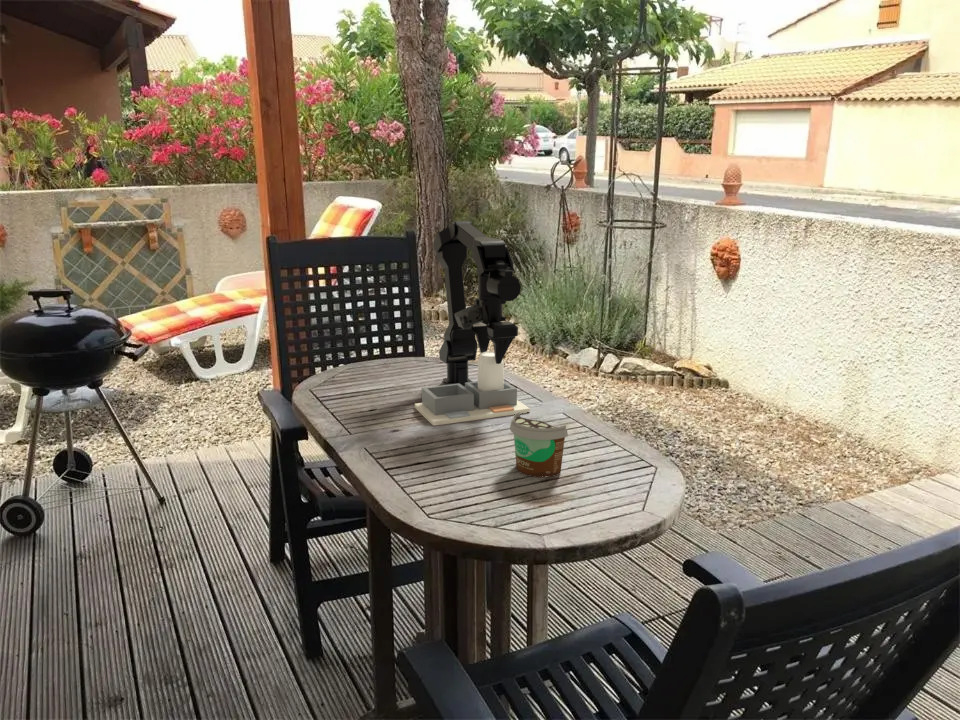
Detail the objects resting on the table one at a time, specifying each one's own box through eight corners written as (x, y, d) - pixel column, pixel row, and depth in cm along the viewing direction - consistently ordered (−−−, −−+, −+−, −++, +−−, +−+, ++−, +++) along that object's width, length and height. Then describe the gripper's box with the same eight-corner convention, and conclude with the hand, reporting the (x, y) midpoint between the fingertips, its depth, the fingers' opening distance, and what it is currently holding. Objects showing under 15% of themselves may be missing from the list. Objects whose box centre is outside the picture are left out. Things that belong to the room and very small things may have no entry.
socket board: (414, 407, 186) (414, 387, 184) (505, 396, 194) (506, 377, 193) (433, 425, 173) (432, 404, 172) (529, 412, 182) (530, 392, 180)
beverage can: (505, 405, 184) (505, 356, 181) (480, 406, 183) (479, 357, 180) (501, 397, 190) (501, 350, 187) (476, 398, 189) (475, 351, 186)
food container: (496, 467, 150) (496, 419, 147) (517, 459, 154) (517, 411, 151) (546, 485, 141) (547, 434, 139) (566, 475, 146) (568, 425, 143)
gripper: (444, 290, 186) (445, 353, 189) (473, 303, 169) (473, 372, 173) (487, 287, 190) (487, 349, 193) (519, 299, 173) (518, 367, 177)
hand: (490, 359), depth 184 cm, fingers open, 9 cm apart
